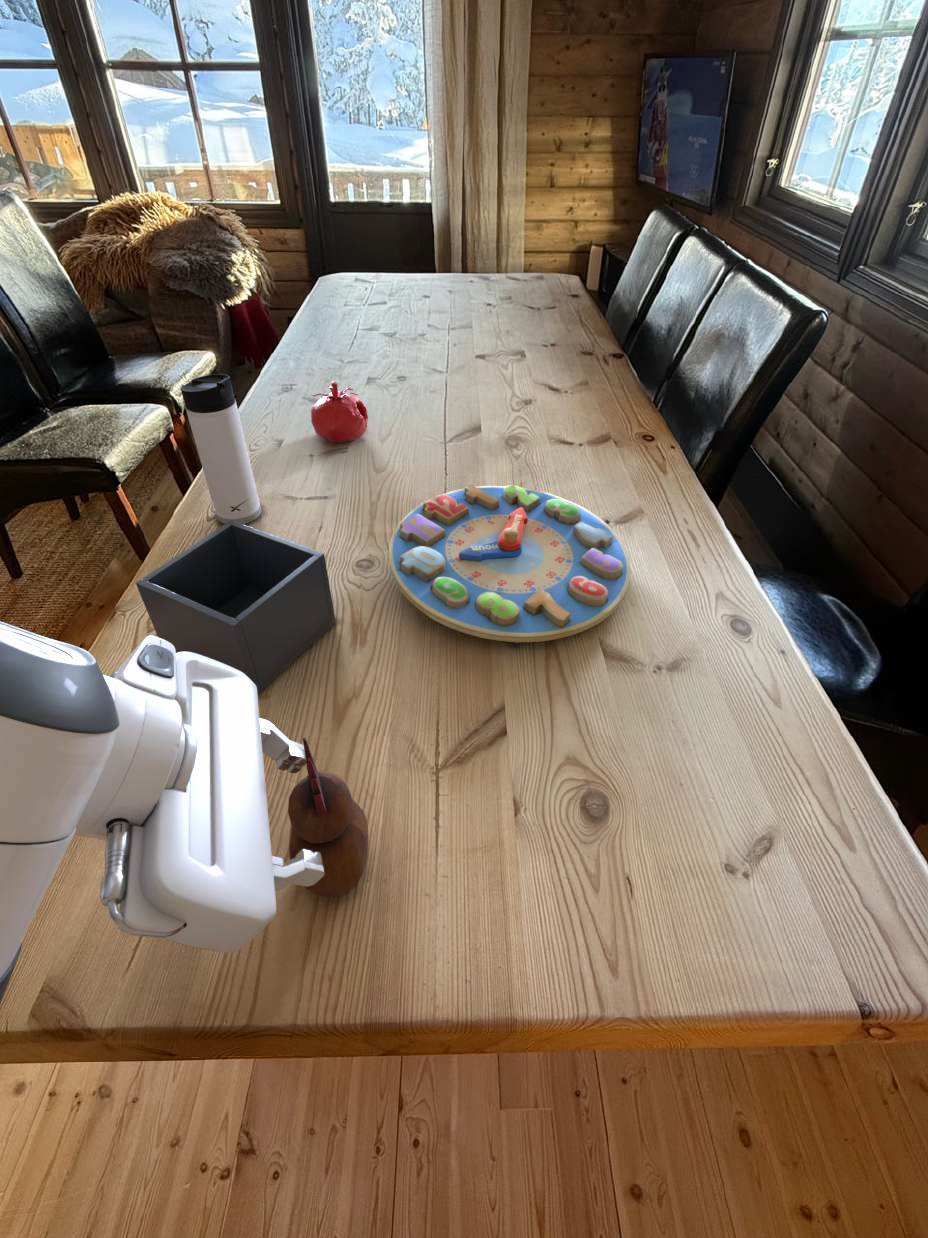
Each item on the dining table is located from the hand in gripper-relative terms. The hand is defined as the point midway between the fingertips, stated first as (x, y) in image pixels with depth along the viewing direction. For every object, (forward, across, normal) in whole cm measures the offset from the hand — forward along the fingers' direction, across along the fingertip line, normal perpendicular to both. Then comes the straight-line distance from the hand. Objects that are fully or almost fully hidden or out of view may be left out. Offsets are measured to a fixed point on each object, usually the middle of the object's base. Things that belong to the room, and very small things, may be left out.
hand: (309, 811), depth 47 cm
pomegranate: (+16, +81, -3) cm, 83 cm away
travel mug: (+4, +59, +10) cm, 60 cm away
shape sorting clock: (+27, +35, -13) cm, 46 cm away
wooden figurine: (+8, 0, +6) cm, 10 cm away
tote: (+4, +32, +10) cm, 33 cm away
